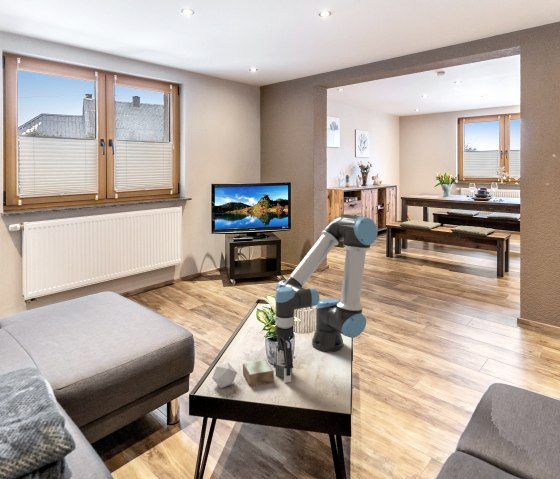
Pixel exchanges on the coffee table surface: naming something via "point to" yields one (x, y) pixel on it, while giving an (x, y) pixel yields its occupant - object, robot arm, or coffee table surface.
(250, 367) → the walnut base
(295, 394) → the coffee table surface
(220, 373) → the white faceted polyhedron
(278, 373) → the grey cube
